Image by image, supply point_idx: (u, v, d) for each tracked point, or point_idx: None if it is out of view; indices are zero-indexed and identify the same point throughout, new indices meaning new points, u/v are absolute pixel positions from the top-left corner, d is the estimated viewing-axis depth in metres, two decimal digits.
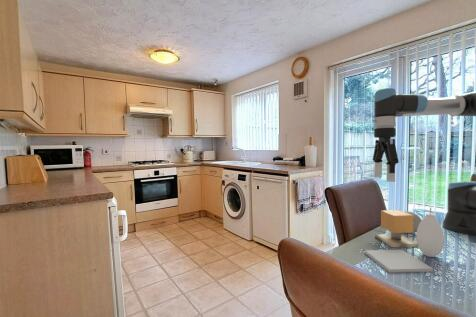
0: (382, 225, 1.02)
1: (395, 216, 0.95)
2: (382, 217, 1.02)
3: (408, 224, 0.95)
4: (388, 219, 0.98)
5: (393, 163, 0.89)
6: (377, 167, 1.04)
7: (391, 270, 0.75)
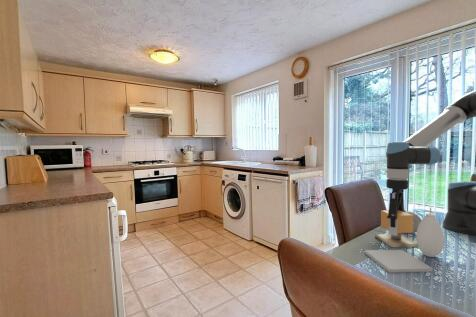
0: (382, 225, 1.02)
1: None
2: (382, 217, 1.02)
3: (408, 224, 0.95)
4: (388, 219, 0.98)
5: (391, 218, 0.93)
6: None
7: (391, 270, 0.75)
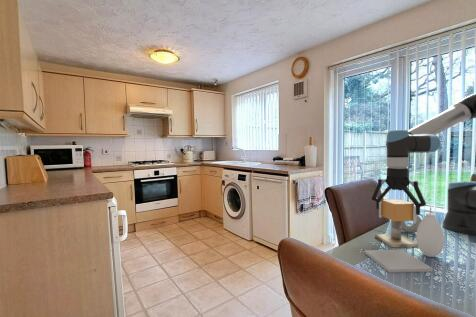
0: None
1: (383, 201, 1.02)
2: None
3: (391, 212, 0.97)
4: None
5: None
6: None
7: (391, 270, 0.75)
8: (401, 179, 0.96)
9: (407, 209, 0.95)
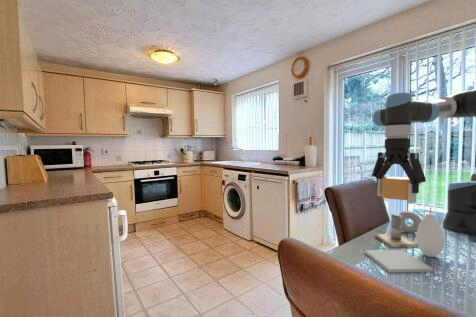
0: None
1: (382, 177, 0.89)
2: None
3: None
4: None
5: None
6: None
7: (391, 270, 0.75)
8: (398, 151, 0.82)
9: (401, 186, 0.81)
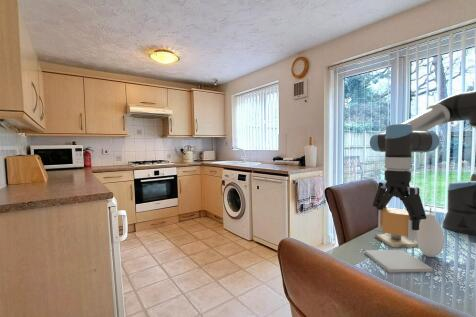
0: None
1: (383, 208, 0.86)
2: None
3: None
4: None
5: None
6: None
7: (391, 270, 0.75)
8: (398, 184, 0.79)
9: (401, 221, 0.77)
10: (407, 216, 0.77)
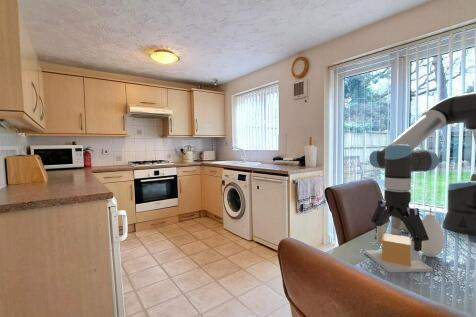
0: None
1: (383, 234, 0.87)
2: None
3: None
4: None
5: None
6: None
7: (391, 270, 0.75)
8: (398, 205, 0.80)
9: (400, 250, 0.78)
10: (406, 245, 0.77)
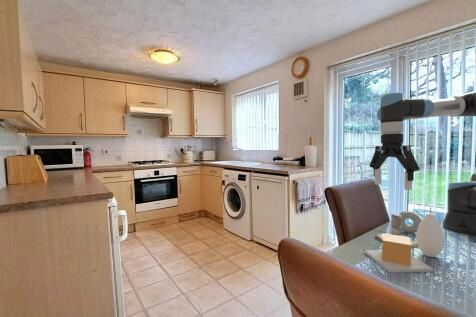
0: None
1: (383, 234, 0.87)
2: None
3: None
4: None
5: None
6: None
7: (391, 270, 0.75)
8: (392, 145, 0.92)
9: (400, 250, 0.78)
10: (406, 245, 0.77)
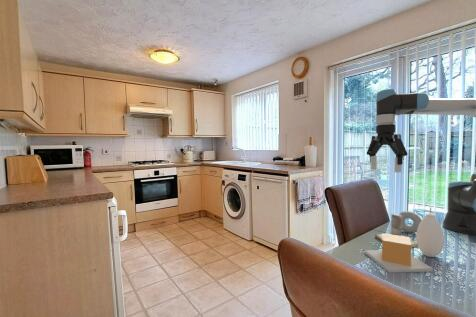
0: None
1: (383, 234, 0.87)
2: None
3: None
4: None
5: None
6: None
7: (391, 270, 0.75)
8: (386, 135, 1.07)
9: (400, 250, 0.78)
10: (406, 245, 0.77)
